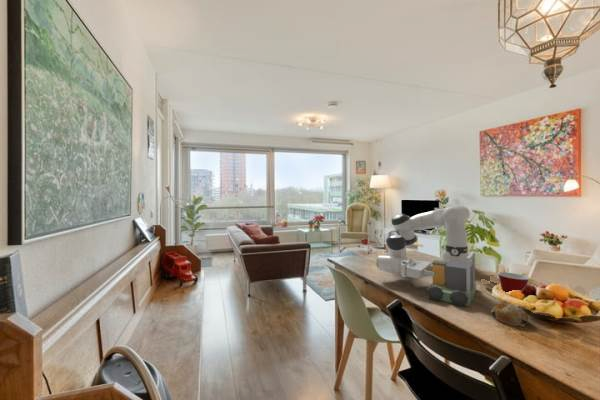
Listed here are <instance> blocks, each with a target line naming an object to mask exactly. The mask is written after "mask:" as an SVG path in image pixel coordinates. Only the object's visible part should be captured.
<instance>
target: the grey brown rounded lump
mask: <svg viewBox="0 0 600 400" xmlns="http://www.w3.org/2000/svg"><path fill="white" fill-rule="evenodd" d="M519 307H520V306H519ZM519 307H517V306H515V305H513V304H510V303H506V302H500V303H498V304H496V305H495V306H494V305H493V307H492V309H491V310H490V313H491V315H492V317H493V318H494V319H495V320H496V321H498V322H500V323H502V324H506V325H508V326H513V327H521V328H522V327H525V326H526V325H527V324H528V323H529V322H528V321H529V317H528V314H527V313H526V311H525V310H524V309H523V308H522V307H520V308H519ZM521 308H522V309H521Z"/></svg>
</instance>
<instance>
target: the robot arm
mask: <svg viewBox="0 0 600 400" xmlns="http://www.w3.org/2000/svg"><path fill="white" fill-rule="evenodd" d="M470 214H471V213H470V210H469V209H468V207H466V206H464V205H459V204H458V205H449V206H447V207H443V208H439V209H434V210H430V211H427V212H421V213H418V214H415V215H413V216H410V215H407V214H405V213H400V214H396V215H395V216H393V217H392V218H391V224H392V226H393V229H389V230H387V231H386V233H385V235H384V244H385V246H386V249H387V254H382V255H381V254H380V255H379V254H378V256H377V258H376V267H377V269H378V270H379V271H382V272H386V273H389V274H398V275H401V278H407V277H408V278H413V279H421V278H423V277H424V276H428V277H429V276H432V277H433V276H434V275H435V272H434V271H433V264H432V262H430V261H425V260H413V258H410V257H407V247H408V246H411V245H414V244H415V243H416V242H417V241H418V240H417V235H416V234H415V231H422V230H428V229H436V228H439V227H444V228H445V239H446V243H445V251H444V252H443V253H442V261H445V262H447V264H448V263H449V262H450V261H458V262H466V258H467V257H468V255H469V253H468V252H469V247H468V233H467V230H466V226H465V222H466V221H468V220H469V218H470V216H471V215H470ZM470 263H472V261H470Z"/></svg>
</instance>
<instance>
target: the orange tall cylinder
mask: <svg viewBox="0 0 600 400" xmlns="http://www.w3.org/2000/svg"><path fill="white" fill-rule="evenodd" d="M431 264H432V265H433V270H432V271H434V272H435V275H434V276H432V284H437V285H442V286H445V285H446V265H447V262H445V261H443V260H437V259H434V260H433V261H432V262H431Z"/></svg>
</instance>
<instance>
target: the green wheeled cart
mask: <svg viewBox="0 0 600 400" xmlns="http://www.w3.org/2000/svg"><path fill="white" fill-rule="evenodd" d="M470 262H471V263H470ZM476 292H477V282H476V251H474V250H472V251H471V252H469V253H468V257H467V258H466V262H458V261H450V262H449V263H448V264H447V265H446V285H445V286H442V285H437V284H433V283H431V284H430V285H429V286H428V287H427V288H426V298H427V299H430V300H431V301H433V302H434V301H435V302H438V301H441V302H446V303H451V304H453V305H455V306H457V307H463V306H465V307H470V305H471V303H472V301H473V298H474V296H475V294H476Z"/></svg>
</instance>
